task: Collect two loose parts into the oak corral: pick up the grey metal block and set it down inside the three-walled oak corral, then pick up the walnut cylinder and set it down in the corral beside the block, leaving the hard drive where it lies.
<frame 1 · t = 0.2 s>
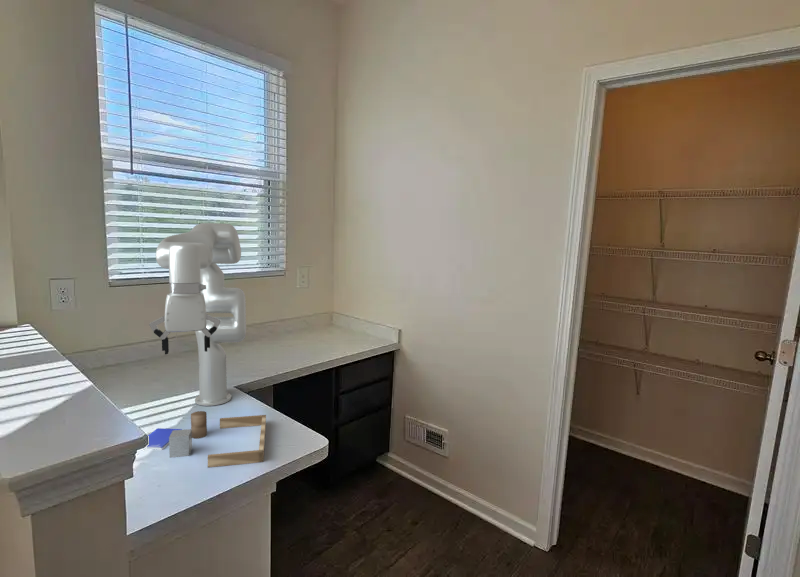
hand: (186, 351, 121), 30 cm above the counter, tool pointing down, fingers open, 9 cm apart
cylinder: (199, 435, 138), on the counter
hard drive: (159, 442, 135), on the counter
block: (181, 453, 127), on the counter
corral: (237, 443, 134), on the counter
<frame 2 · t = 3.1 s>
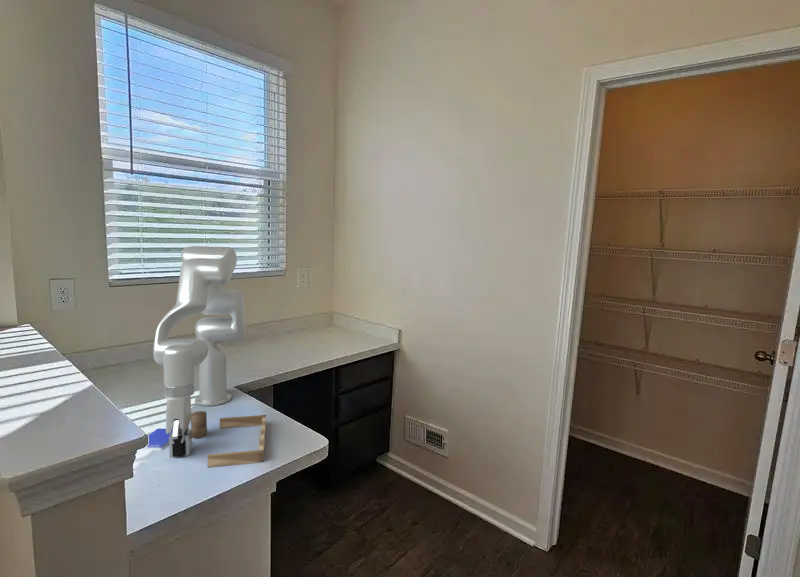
hand: (181, 450, 127), 1 cm above the counter, tool pointing down, fingers closed on block, 4 cm apart
block: (181, 453, 127), on the counter, touching gripper
everything else where it was.
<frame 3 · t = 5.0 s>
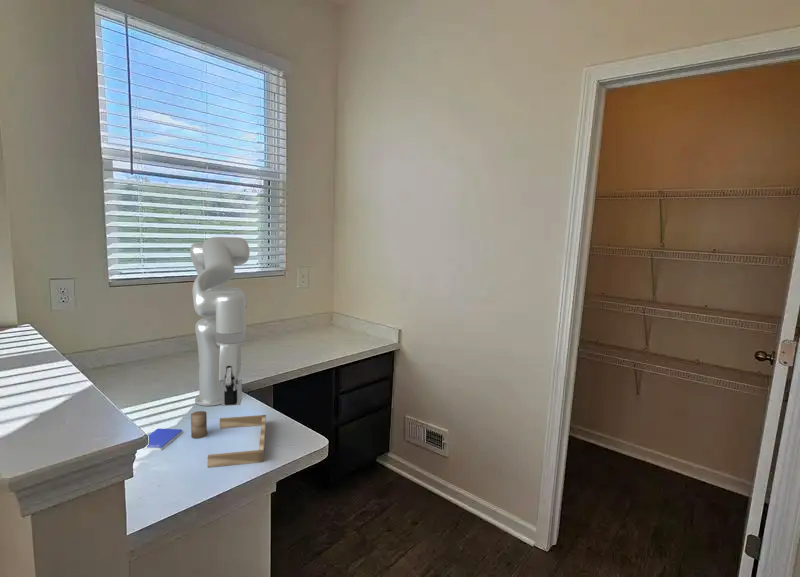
hand: (231, 400, 126), 15 cm above the counter, tool pointing down, fingers closed on block, 4 cm apart
block: (231, 402, 126), point 15 cm above the counter, touching gripper
everything else where it was.
when the fingers open (2 cm above the counter, at t = 7.4 s): block drops 2 cm, on the counter.
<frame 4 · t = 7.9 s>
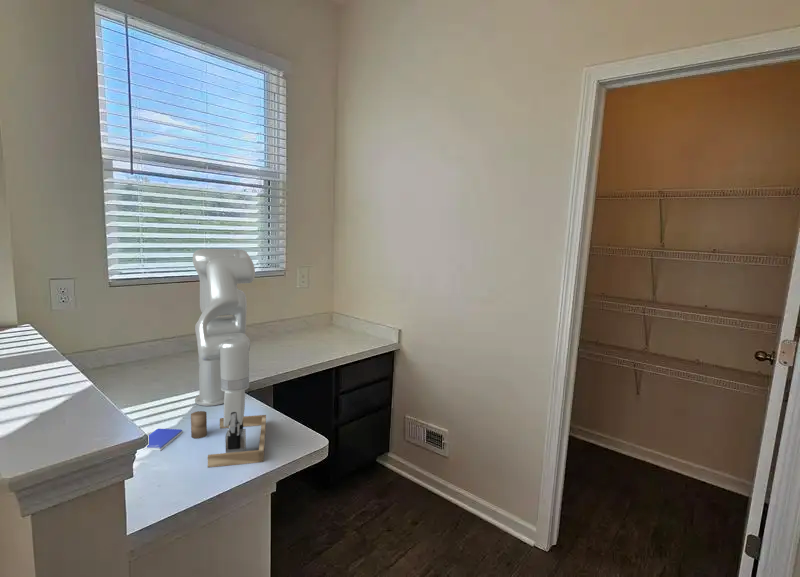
hand: (235, 441, 128), 3 cm above the counter, tool pointing down, fingers open, 9 cm apart
block: (235, 452, 128), on the counter
everything else where it was.
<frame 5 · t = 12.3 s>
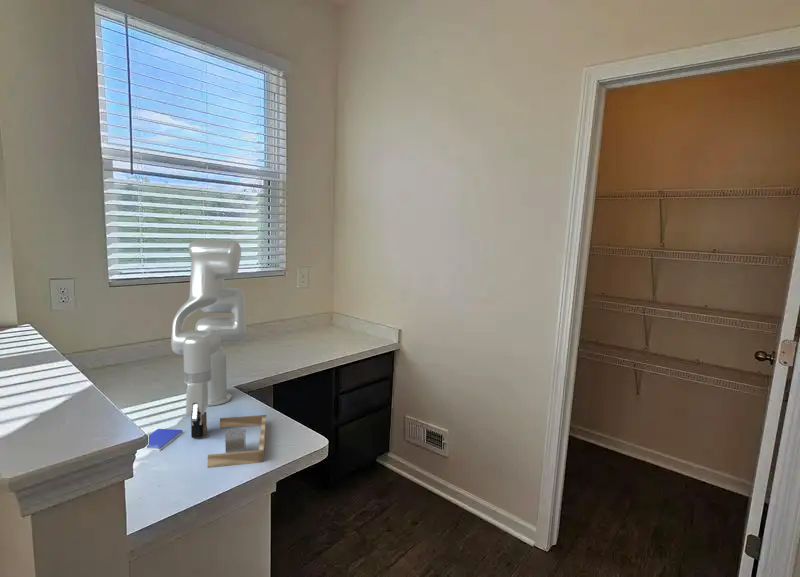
hand: (199, 432, 138), 1 cm above the counter, tool pointing down, fingers closed on cylinder, 4 cm apart
cylinder: (199, 435, 138), on the counter, touching gripper
everything else where it was.
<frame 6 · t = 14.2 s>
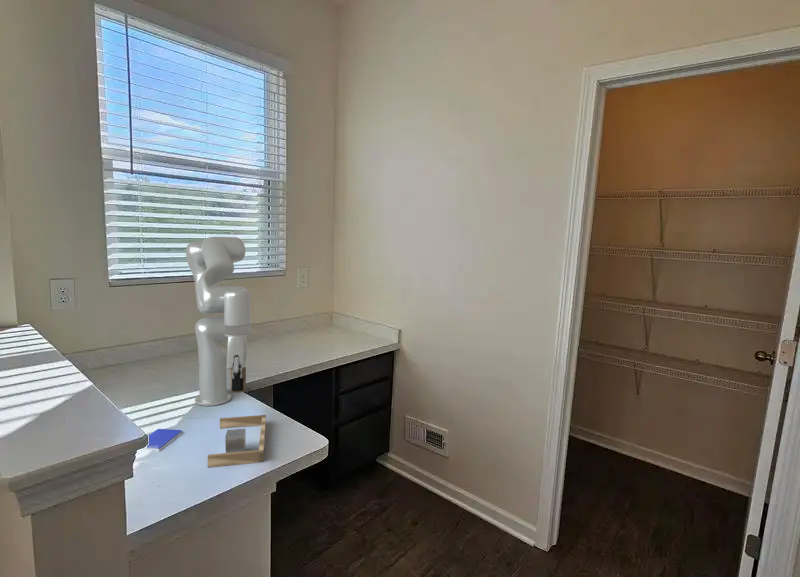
hand: (238, 387, 138), 15 cm above the counter, tool pointing down, fingers closed on cylinder, 4 cm apart
cylinder: (238, 390, 138), point 14 cm above the counter, touching gripper
everything else where it was.
when the fingers open (3 cm above the counter, at t = 16.4 s): cylinder drops 2 cm, on the counter.
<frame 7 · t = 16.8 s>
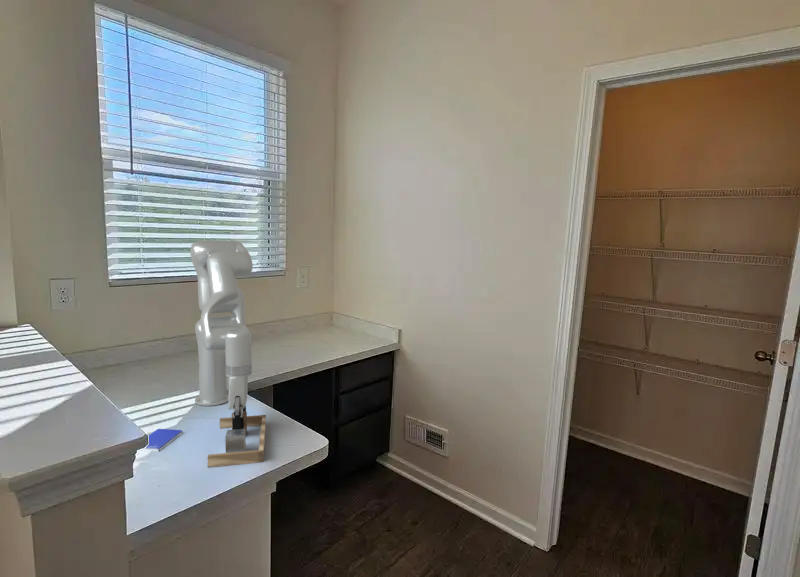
hand: (239, 423, 139), 4 cm above the counter, tool pointing down, fingers open, 8 cm apart
cylinder: (239, 434, 140), on the counter
everything else where it was.
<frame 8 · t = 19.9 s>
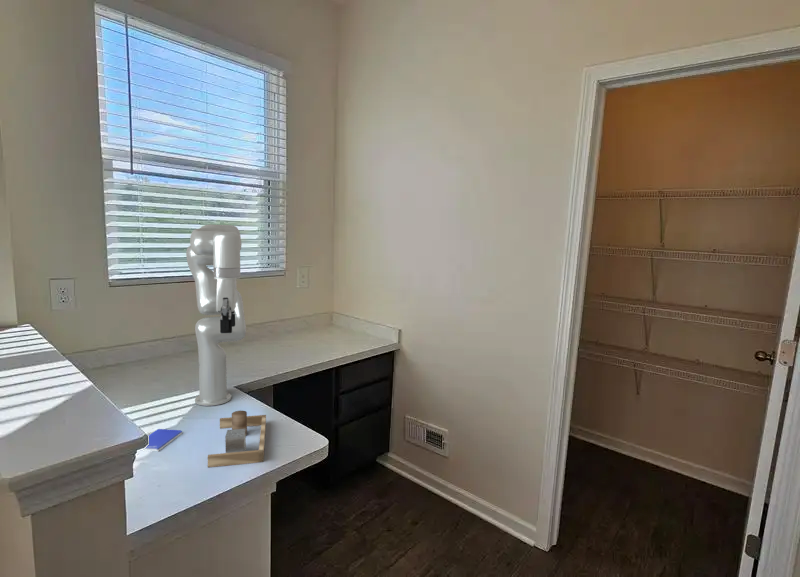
hand: (228, 329, 136), 33 cm above the counter, tool pointing down, fingers open, 9 cm apart
nothing on the counter moved.
at the end: block inside the target area (5.8 cm from its centre), on the counter; cylinder inside the target area (6.1 cm from its centre), on the counter; block tilted 0° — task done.
